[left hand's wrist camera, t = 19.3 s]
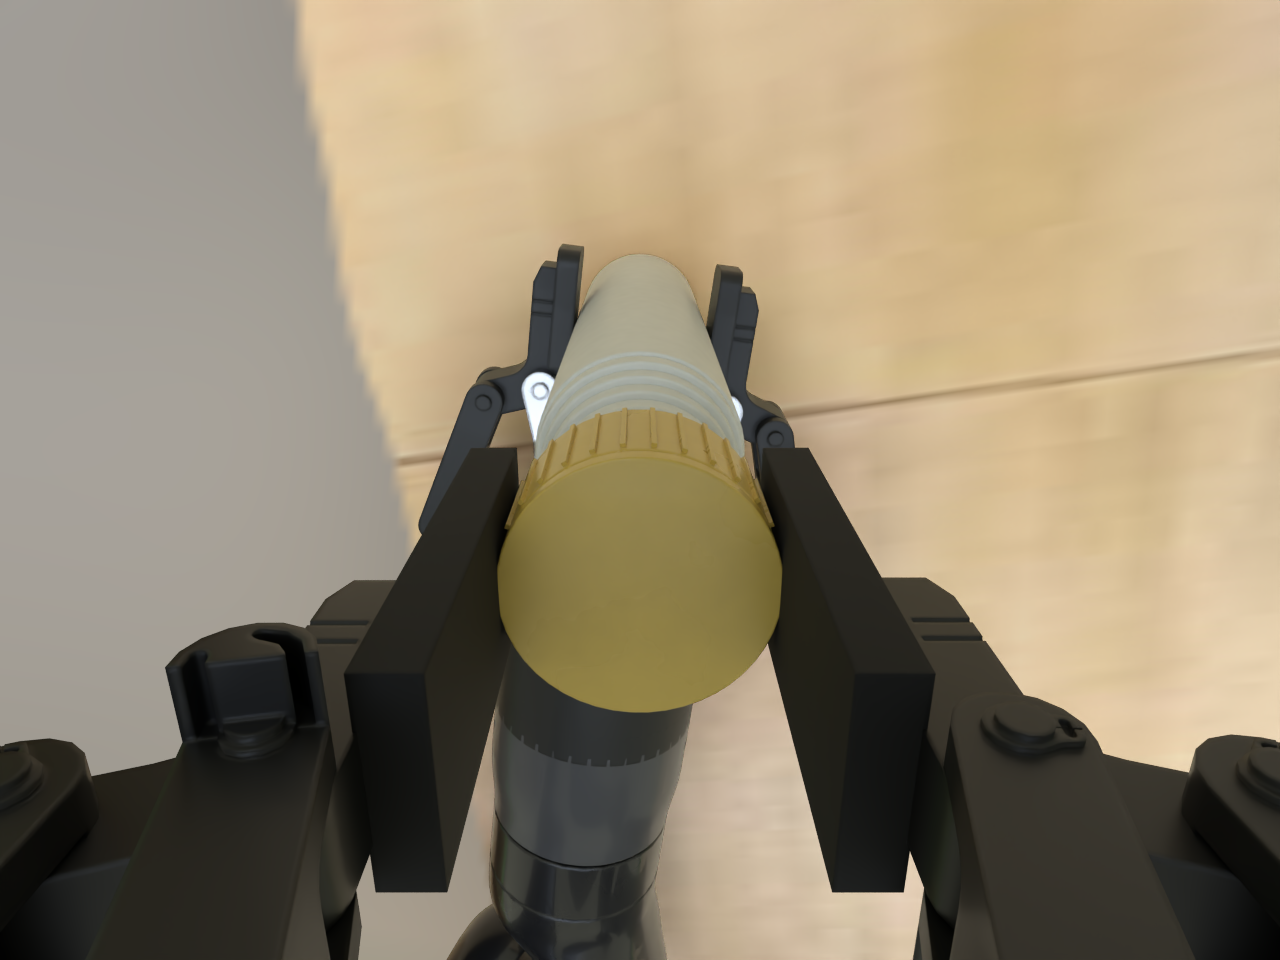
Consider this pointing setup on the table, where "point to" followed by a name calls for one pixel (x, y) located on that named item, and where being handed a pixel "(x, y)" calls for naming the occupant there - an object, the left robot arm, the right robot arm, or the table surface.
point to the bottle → (640, 354)
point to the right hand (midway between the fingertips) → (649, 260)
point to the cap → (639, 563)
